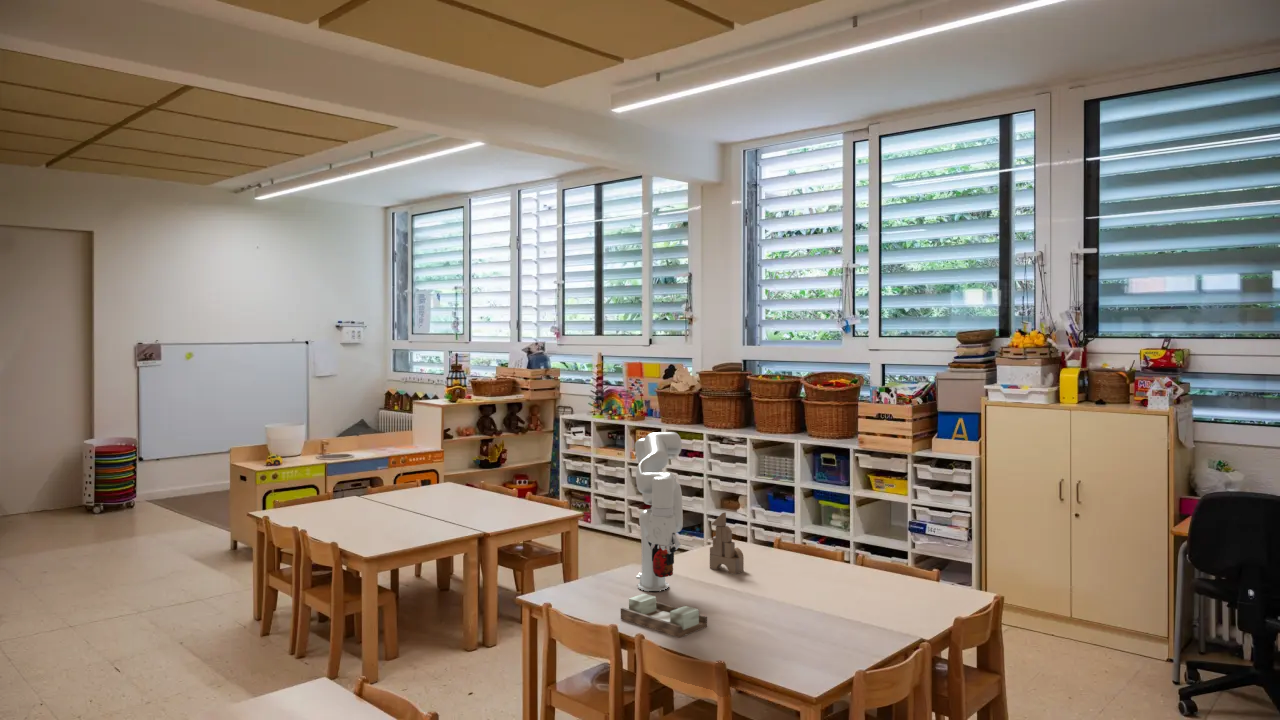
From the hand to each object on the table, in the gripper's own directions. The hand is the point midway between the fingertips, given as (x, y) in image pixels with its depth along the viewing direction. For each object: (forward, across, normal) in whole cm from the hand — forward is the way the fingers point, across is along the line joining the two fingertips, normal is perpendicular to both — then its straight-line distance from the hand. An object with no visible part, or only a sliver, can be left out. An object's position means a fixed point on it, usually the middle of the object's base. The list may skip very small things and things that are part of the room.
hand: (662, 562), depth 284 cm
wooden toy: (+22, -25, +67) cm, 75 cm away
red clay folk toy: (+5, 0, 0) cm, 5 cm away
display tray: (+21, 0, 0) cm, 21 cm away
